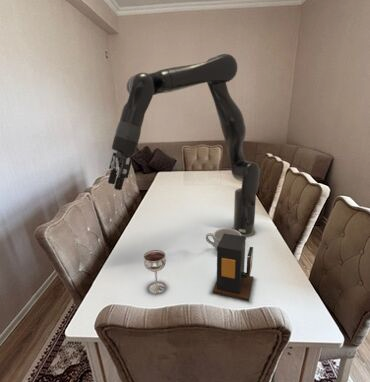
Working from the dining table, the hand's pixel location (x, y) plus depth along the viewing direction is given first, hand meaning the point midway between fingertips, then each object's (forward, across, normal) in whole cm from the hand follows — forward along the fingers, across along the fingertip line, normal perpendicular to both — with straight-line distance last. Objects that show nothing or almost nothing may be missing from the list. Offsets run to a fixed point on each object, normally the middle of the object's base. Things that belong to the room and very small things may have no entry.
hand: (114, 186), depth 82 cm
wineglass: (+27, -16, -17) cm, 36 cm away
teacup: (+16, -9, -47) cm, 50 cm away
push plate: (+12, -32, -38) cm, 51 cm away
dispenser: (+20, -27, -36) cm, 50 cm away
